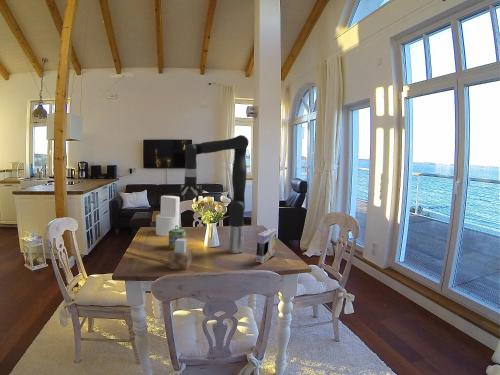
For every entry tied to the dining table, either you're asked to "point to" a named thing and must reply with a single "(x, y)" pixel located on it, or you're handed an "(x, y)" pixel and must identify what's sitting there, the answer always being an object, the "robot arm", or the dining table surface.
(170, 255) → the walnut box
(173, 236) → the green tin canister
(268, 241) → the cake pan box
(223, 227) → the dining table surface
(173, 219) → the white stepped tower
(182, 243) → the block
